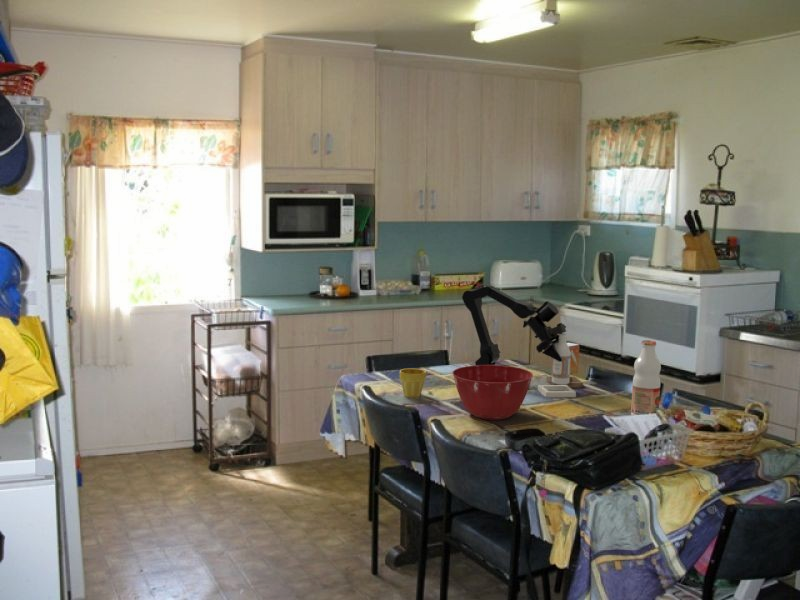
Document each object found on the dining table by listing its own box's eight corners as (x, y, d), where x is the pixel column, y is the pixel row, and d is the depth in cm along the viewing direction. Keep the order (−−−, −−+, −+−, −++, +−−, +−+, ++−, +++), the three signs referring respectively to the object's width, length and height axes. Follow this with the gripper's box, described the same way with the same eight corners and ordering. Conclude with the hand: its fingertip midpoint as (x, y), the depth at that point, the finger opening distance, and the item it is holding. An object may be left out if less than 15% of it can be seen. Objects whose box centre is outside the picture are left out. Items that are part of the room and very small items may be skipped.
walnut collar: (554, 387, 341) (554, 382, 341) (546, 381, 353) (546, 376, 353) (582, 387, 342) (583, 382, 342) (573, 381, 354) (574, 376, 354)
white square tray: (545, 397, 324) (546, 392, 324) (537, 390, 336) (538, 385, 336) (575, 397, 326) (576, 392, 325) (566, 389, 337) (566, 385, 337)
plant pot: (426, 398, 318) (427, 373, 317) (400, 398, 318) (400, 373, 316) (424, 392, 329) (424, 368, 327) (398, 392, 328) (398, 368, 327)
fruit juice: (627, 415, 300) (631, 338, 296) (652, 415, 300) (657, 339, 297) (635, 422, 291) (640, 343, 287) (662, 422, 291) (666, 343, 287)
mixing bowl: (475, 429, 278) (476, 384, 277) (437, 408, 304) (438, 367, 302) (546, 421, 290) (548, 378, 288) (504, 402, 316) (506, 362, 314)
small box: (568, 375, 365) (569, 346, 363) (556, 373, 370) (557, 344, 368) (578, 373, 371) (579, 344, 369) (566, 370, 375) (567, 342, 373)
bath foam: (548, 382, 334) (550, 333, 331) (557, 379, 339) (559, 331, 336) (563, 385, 329) (565, 336, 326) (572, 382, 334) (574, 333, 331)
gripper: (545, 319, 325) (570, 350, 320) (563, 314, 340) (587, 344, 336) (525, 337, 330) (550, 368, 326) (544, 331, 346) (567, 360, 341)
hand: (564, 359), depth 332 cm, fingers closed on bath foam, 7 cm apart
